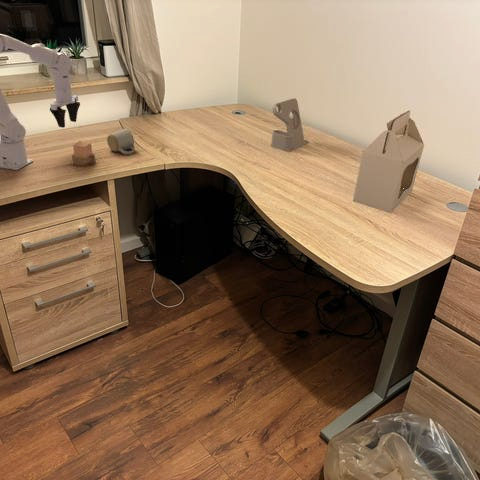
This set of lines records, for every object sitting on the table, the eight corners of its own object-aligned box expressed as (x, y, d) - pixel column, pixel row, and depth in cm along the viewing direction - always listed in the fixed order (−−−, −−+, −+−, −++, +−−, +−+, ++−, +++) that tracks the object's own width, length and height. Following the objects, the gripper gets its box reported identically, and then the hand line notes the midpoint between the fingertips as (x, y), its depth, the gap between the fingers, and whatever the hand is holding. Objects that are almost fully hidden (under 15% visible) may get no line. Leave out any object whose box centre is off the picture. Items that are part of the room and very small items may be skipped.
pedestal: (88, 168, 169) (87, 160, 167) (68, 165, 170) (67, 157, 169) (99, 161, 176) (98, 153, 174) (80, 158, 177) (79, 150, 176)
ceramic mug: (106, 149, 185) (104, 130, 181) (123, 144, 191) (122, 126, 187) (123, 157, 179) (121, 138, 175) (140, 152, 185) (139, 133, 181)
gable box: (376, 180, 173) (393, 104, 158) (412, 191, 166) (433, 112, 152) (352, 201, 157) (368, 118, 142) (390, 213, 150) (411, 127, 136)
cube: (86, 158, 169) (84, 146, 167) (74, 157, 170) (73, 145, 168) (92, 154, 173) (91, 142, 171) (81, 152, 174) (79, 141, 171)
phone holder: (288, 152, 193) (292, 108, 184) (268, 146, 198) (271, 103, 189) (310, 142, 205) (315, 101, 196) (290, 137, 210) (295, 96, 201)
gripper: (60, 93, 164) (66, 131, 171) (83, 84, 177) (87, 120, 184) (43, 90, 166) (49, 128, 173) (66, 82, 178) (71, 118, 185)
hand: (67, 124), depth 178 cm, fingers open, 7 cm apart
